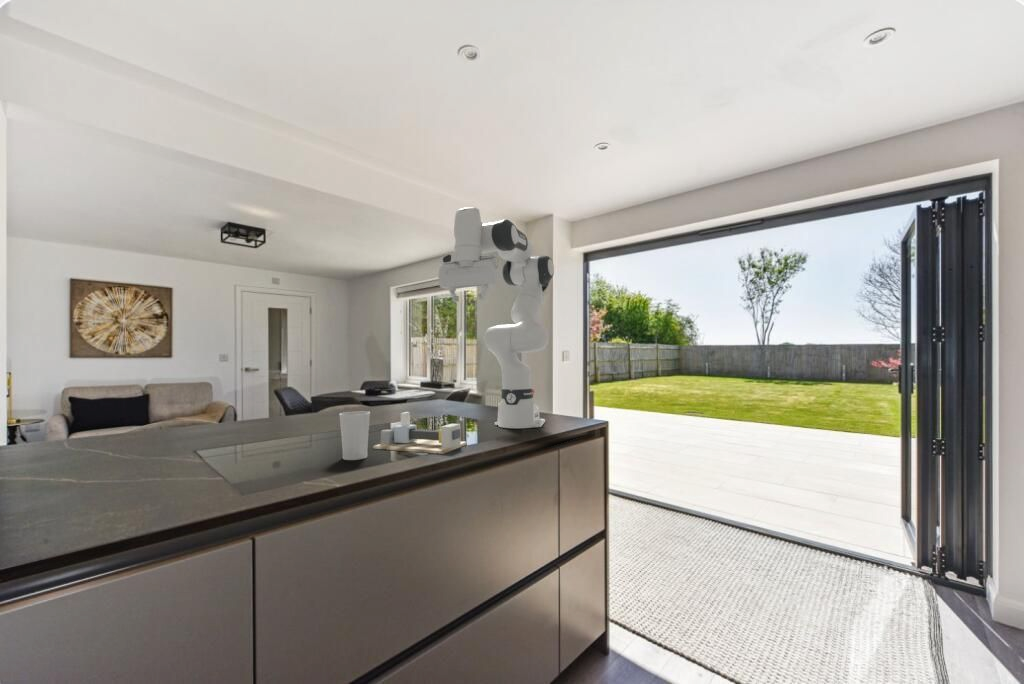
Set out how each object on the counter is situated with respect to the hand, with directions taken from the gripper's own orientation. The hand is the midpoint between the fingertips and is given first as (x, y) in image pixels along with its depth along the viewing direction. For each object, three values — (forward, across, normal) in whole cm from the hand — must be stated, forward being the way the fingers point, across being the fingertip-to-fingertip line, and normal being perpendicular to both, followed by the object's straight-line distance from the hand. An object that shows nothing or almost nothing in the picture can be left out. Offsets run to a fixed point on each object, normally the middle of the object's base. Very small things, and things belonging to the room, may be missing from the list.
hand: (468, 300), depth 142 cm
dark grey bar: (+43, +11, +11) cm, 46 cm away
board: (+45, +11, +11) cm, 47 cm away
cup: (+45, +20, +29) cm, 57 cm away
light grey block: (+45, +21, +11) cm, 51 cm away
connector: (+45, 0, +11) cm, 46 cm away
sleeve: (+44, +16, +11) cm, 48 cm away
